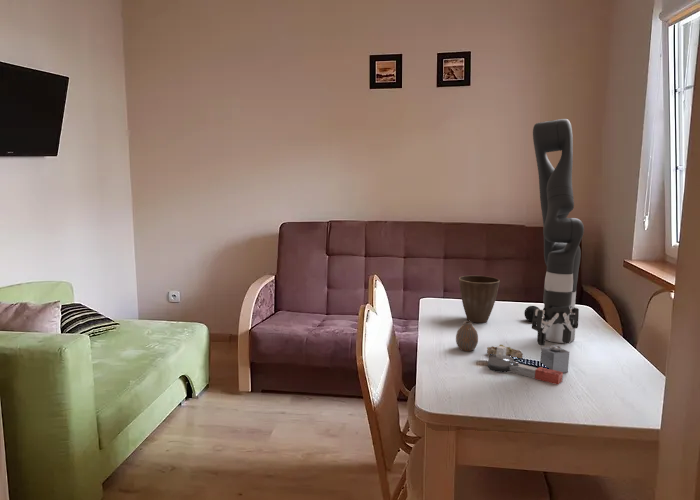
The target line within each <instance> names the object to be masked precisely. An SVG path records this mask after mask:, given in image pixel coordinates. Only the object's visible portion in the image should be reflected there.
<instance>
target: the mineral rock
mask: <svg viewBox="0 0 700 500" xmlns="http://www.w3.org/2000/svg"><path fill="white" fill-rule="evenodd" d="M499 346H503V347H506V355H508V356H511V357H517V358H521V359H523V355H524V354H523V353H522V351H521V350H519V349H514V348H511V347H510V346H505V345H503V344H499ZM499 346H493V345H491V346H490V347H489V346H488V347H486V349H487V350H486V351H487V352H486V354H487V355H488V356H489V355H490V354H497V347H499Z"/></svg>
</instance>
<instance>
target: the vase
mask: <svg viewBox="0 0 700 500" xmlns="http://www.w3.org/2000/svg"><path fill="white" fill-rule="evenodd" d="M475 328H476V327H474V325H473V322H470V321H463V323H462V325H461V326H460V327H459V328H458V330H457V332H456V334H455V343H456V346H457V347H458V348H459V350H461V351H462V352H463V351H464V352H471V351H474V350H475V349H476V348H477V346H478V343H479V334H478V331H477V329H475Z"/></svg>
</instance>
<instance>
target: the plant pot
mask: <svg viewBox="0 0 700 500" xmlns="http://www.w3.org/2000/svg"><path fill="white" fill-rule="evenodd" d="M458 281H459V291H460V298H461V302H462V305H463V306H462V307H463V310H464V313H465V317H466V321H467V322H471V323H478V324H484V323H487V322H488V321H489V319H490V316H491V315H492V312H493V309H494V306H495V303H496V299H497V296H498V290H499V288H500V287H499V286H500V279H499V278H496V277H493V276H492V277H491V276H485V275H464V276H459V278H458Z"/></svg>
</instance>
